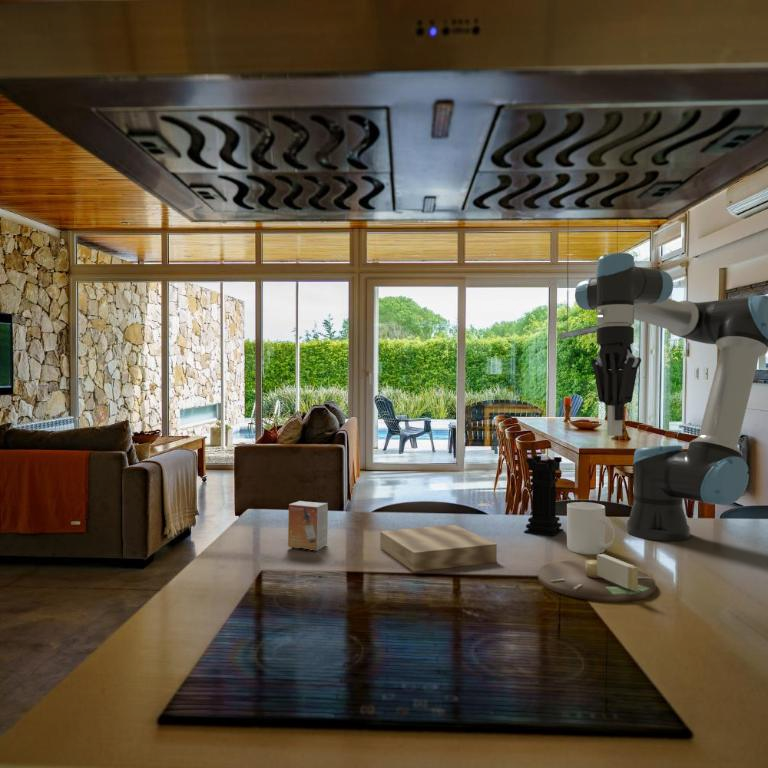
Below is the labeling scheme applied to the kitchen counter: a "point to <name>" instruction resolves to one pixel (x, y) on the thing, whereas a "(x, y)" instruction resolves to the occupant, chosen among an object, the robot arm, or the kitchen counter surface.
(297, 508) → the small box
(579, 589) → the dial
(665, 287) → the robot arm
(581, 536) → the mug
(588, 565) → the white bar with ball
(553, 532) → the chess piece
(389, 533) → the block
